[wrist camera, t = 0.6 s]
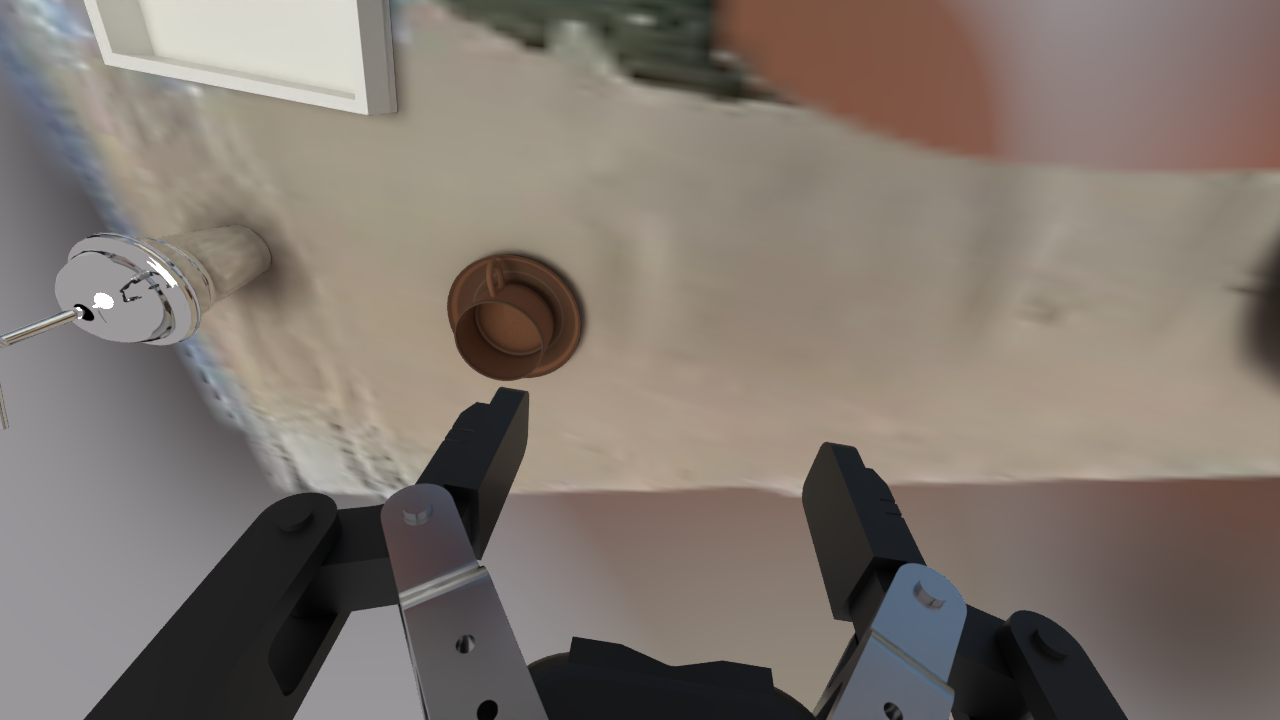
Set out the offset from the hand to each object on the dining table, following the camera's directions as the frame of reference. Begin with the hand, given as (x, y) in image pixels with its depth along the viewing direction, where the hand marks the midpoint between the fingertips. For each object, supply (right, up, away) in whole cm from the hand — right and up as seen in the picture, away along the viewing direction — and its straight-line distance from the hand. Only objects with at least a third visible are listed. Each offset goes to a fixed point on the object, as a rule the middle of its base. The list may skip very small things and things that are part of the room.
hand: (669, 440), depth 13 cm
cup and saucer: (-12, +7, +32) cm, 35 cm away
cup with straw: (-36, +12, +31) cm, 49 cm away
